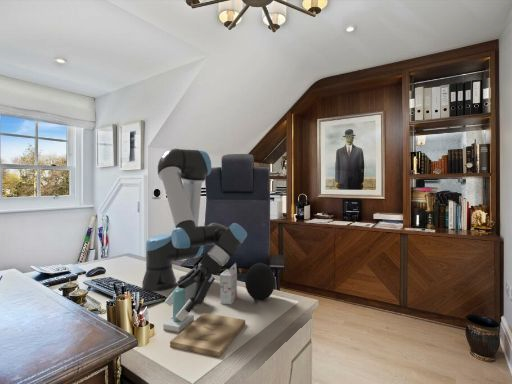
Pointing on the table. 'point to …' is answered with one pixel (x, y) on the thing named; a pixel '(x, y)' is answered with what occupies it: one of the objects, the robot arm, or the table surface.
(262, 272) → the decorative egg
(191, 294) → the cup
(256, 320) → the table surface
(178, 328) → the teal cylinder on base
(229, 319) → the board
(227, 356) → the table surface
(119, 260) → the table surface
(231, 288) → the ink cartridge box
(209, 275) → the robot arm
